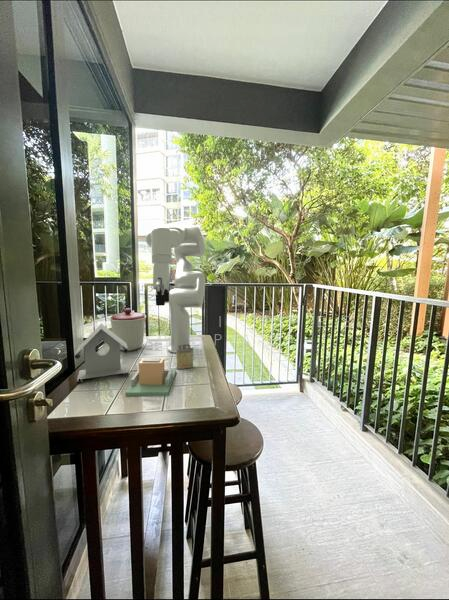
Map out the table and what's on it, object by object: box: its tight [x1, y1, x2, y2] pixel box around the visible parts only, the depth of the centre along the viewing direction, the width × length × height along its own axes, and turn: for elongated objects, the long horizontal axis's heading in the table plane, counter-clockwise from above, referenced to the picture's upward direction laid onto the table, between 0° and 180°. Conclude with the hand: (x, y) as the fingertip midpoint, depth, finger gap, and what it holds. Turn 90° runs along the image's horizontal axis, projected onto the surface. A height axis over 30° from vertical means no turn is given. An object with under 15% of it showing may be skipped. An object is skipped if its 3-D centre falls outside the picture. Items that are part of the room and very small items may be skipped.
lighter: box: [176, 344, 194, 370], centre depth 115 cm, size 7×4×10 cm, turn 110°
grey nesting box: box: [74, 323, 130, 382], centre depth 106 cm, size 18×10×20 cm, turn 114°
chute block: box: [138, 357, 166, 385], centre depth 98 cm, size 5×8×8 cm, turn 91°
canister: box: [108, 307, 147, 352], centre depth 140 cm, size 18×18×21 cm
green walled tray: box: [125, 368, 177, 397], centre depth 101 cm, size 20×14×4 cm
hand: (162, 303), depth 108 cm, fingers open, 9 cm apart
